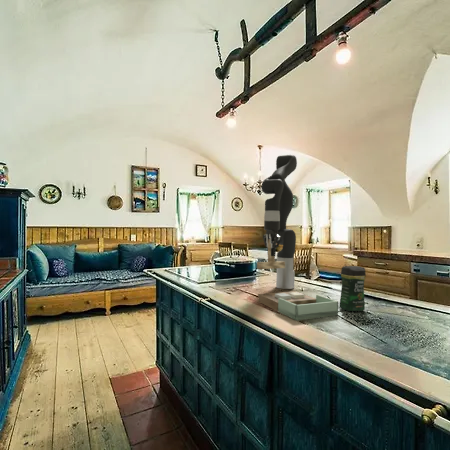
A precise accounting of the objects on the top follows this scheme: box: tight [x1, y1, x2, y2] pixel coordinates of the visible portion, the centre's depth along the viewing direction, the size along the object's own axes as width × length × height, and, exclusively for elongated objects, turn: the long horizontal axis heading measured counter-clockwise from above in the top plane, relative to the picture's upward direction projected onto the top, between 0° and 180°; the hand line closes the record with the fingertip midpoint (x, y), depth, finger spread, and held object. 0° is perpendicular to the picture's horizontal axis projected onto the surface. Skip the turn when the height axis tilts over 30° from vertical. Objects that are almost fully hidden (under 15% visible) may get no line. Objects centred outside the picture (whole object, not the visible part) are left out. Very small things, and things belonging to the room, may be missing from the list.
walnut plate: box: [257, 290, 316, 312], centre depth 131 cm, size 20×16×4 cm
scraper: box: [256, 239, 285, 270], centre depth 144 cm, size 14×3×14 cm, turn 113°
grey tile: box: [275, 293, 291, 300], centre depth 128 cm, size 5×5×2 cm
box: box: [277, 294, 339, 321], centre depth 118 cm, size 20×12×6 cm, turn 113°
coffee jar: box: [339, 265, 367, 312], centre depth 125 cm, size 10×8×19 cm
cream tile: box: [288, 291, 306, 299], centre depth 131 cm, size 5×5×2 cm
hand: (271, 255), depth 144 cm, fingers closed on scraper, 2 cm apart
